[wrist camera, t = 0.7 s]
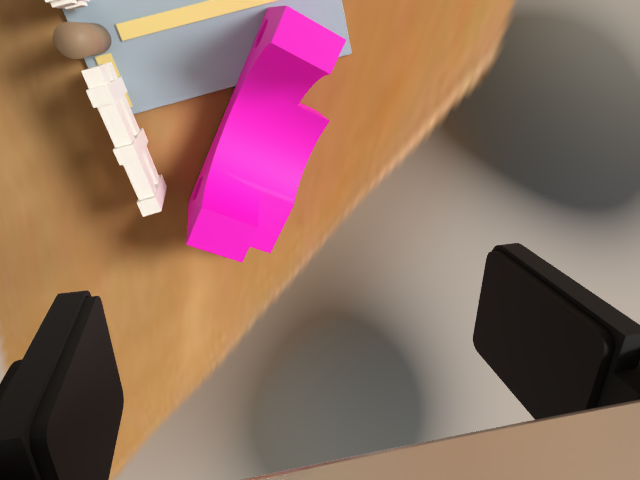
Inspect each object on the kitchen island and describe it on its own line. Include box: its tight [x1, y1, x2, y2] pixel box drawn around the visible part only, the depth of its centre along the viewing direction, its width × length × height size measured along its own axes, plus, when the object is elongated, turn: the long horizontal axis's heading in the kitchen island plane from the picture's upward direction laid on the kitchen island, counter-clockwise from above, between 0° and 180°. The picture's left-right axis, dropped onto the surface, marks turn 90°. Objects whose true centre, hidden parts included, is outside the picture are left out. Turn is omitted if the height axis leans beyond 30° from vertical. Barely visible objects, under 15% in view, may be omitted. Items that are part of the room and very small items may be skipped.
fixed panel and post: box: [53, 22, 167, 217], centre depth 29 cm, size 11×2×6 cm, turn 14°
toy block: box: [186, 6, 346, 262], centre depth 31 cm, size 15×6×8 cm, turn 153°
